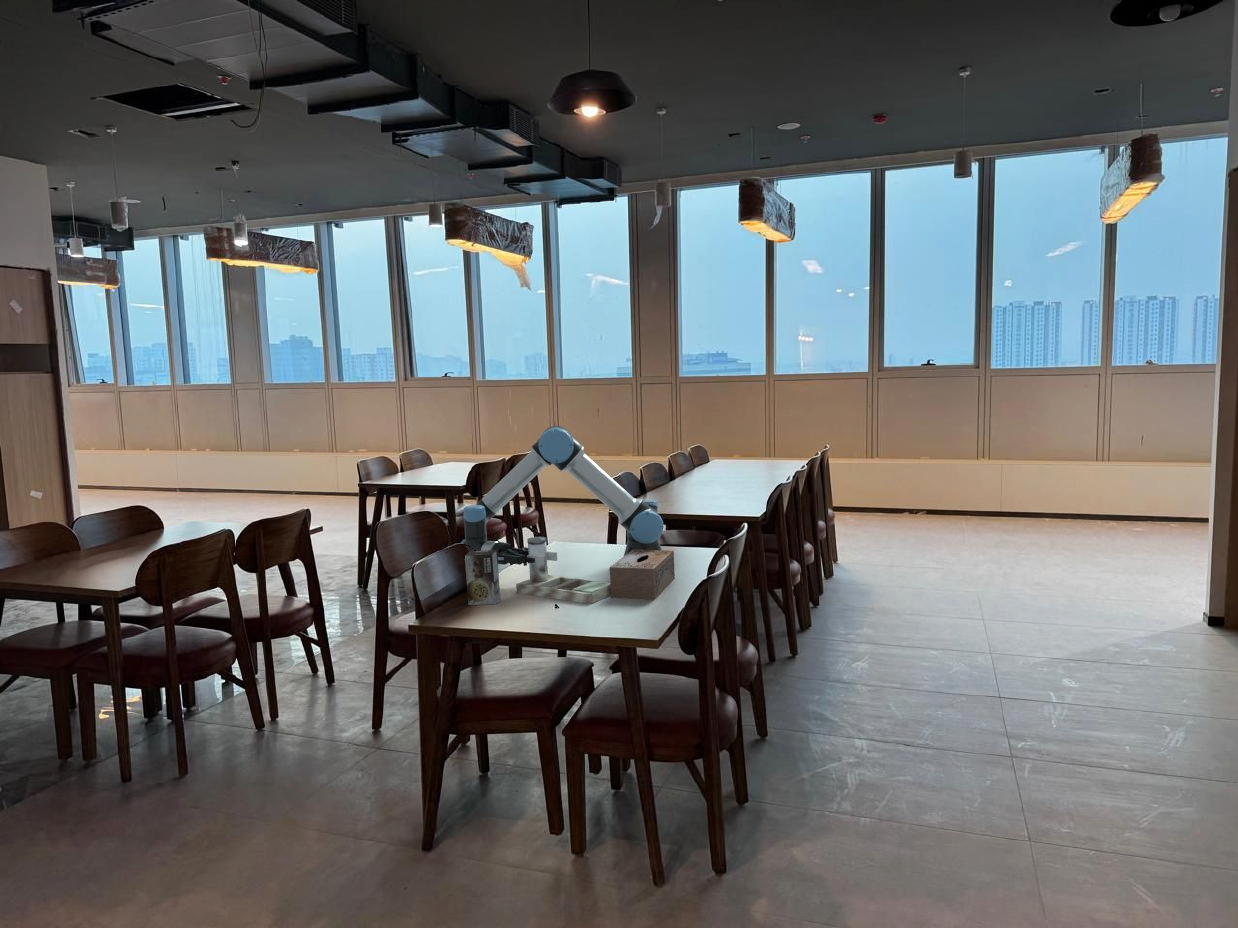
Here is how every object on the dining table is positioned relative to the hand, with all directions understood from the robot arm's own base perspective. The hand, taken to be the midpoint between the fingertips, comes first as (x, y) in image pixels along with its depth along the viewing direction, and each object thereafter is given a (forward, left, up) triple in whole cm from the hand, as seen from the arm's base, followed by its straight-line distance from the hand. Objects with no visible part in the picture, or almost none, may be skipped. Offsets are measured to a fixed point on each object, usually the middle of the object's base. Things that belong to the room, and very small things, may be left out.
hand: (549, 558), depth 268 cm
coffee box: (+20, +11, -11) cm, 25 cm away
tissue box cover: (-30, 0, -11) cm, 32 cm away
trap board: (-5, +3, -11) cm, 12 cm away
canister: (+4, -3, -8) cm, 9 cm away
